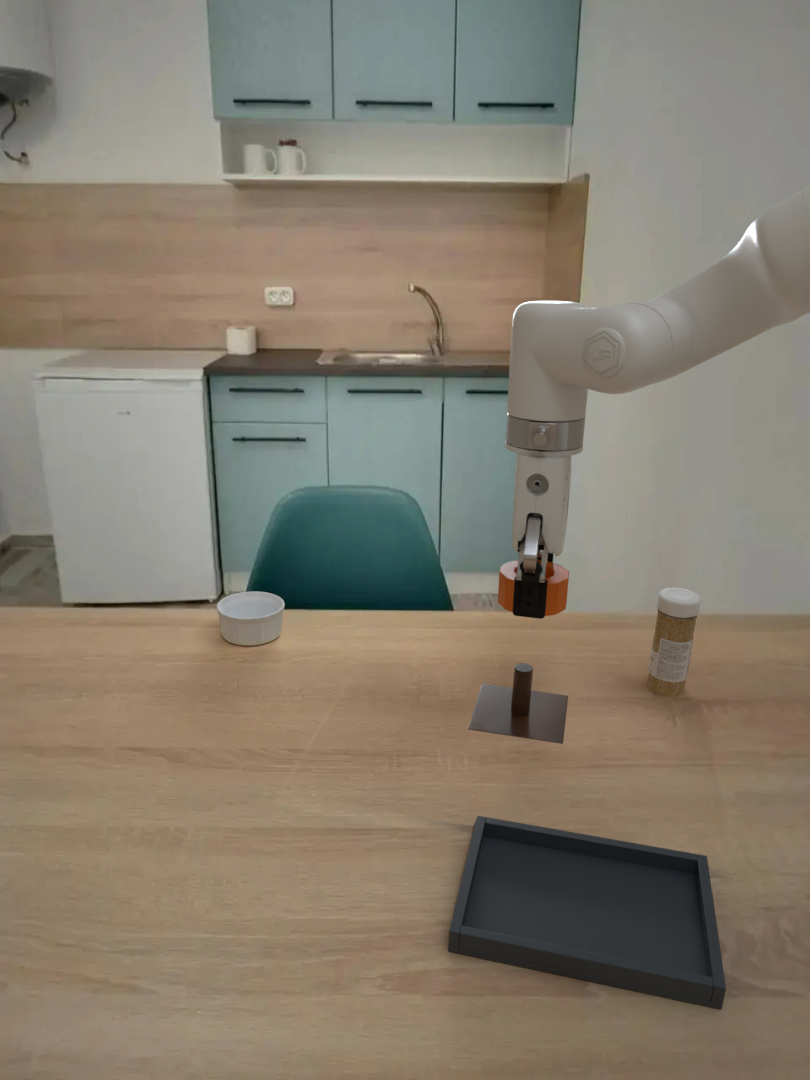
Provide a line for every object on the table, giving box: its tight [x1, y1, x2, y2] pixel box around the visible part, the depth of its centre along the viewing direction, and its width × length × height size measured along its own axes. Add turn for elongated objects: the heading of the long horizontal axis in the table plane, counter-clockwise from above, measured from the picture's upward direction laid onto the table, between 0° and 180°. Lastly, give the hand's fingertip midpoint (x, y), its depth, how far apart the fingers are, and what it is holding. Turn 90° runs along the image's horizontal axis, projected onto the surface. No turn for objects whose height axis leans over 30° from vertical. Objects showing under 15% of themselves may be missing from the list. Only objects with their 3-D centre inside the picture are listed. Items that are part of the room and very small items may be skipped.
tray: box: [447, 815, 727, 1010], centre depth 66 cm, size 20×14×2 cm
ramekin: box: [216, 590, 286, 647], centre depth 110 cm, size 9×9×4 cm
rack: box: [468, 662, 569, 745], centre depth 91 cm, size 10×10×7 cm
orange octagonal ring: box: [497, 559, 570, 617], centre depth 86 cm, size 7×7×4 cm
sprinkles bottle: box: [646, 587, 701, 698], centre depth 95 cm, size 5×5×14 cm
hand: (532, 599), depth 86 cm, fingers closed on orange octagonal ring, 7 cm apart
